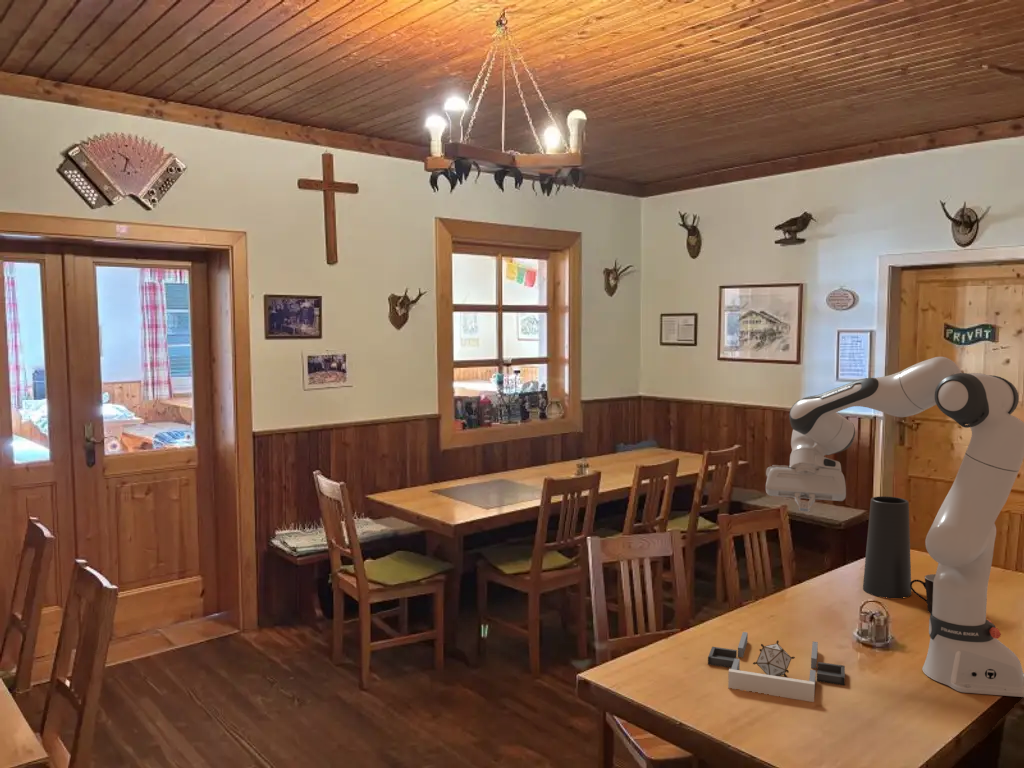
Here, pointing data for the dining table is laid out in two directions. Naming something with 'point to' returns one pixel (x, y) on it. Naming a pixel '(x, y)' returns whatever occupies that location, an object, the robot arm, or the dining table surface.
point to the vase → (888, 549)
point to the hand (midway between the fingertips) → (804, 510)
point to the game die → (773, 660)
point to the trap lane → (774, 683)
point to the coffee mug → (929, 590)
